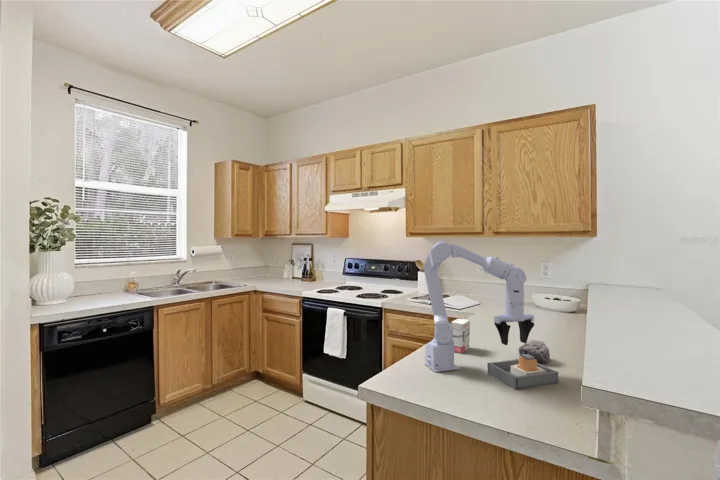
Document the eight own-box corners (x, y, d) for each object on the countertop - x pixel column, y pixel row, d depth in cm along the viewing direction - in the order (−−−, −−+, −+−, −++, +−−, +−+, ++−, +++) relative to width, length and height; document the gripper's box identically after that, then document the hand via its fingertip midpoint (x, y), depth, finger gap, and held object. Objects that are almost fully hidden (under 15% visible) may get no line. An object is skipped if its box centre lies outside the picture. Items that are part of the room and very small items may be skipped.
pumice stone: (526, 371, 121) (555, 365, 119) (520, 350, 121) (549, 344, 120) (518, 360, 131) (545, 354, 130) (513, 341, 132) (539, 335, 130)
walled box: (515, 389, 101) (515, 378, 101) (487, 373, 113) (487, 362, 113) (558, 383, 106) (558, 372, 105) (526, 368, 118) (526, 358, 118)
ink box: (462, 354, 132) (462, 323, 132) (450, 351, 135) (450, 321, 135) (470, 348, 139) (470, 319, 139) (458, 346, 142) (458, 317, 142)
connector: (527, 378, 108) (527, 358, 108) (518, 373, 112) (518, 354, 112) (536, 377, 109) (536, 357, 109) (527, 372, 113) (527, 353, 113)
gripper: (504, 306, 108) (504, 348, 108) (541, 304, 112) (540, 345, 112) (490, 302, 115) (489, 342, 115) (525, 300, 119) (525, 338, 119)
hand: (514, 343), depth 114 cm, fingers open, 7 cm apart
